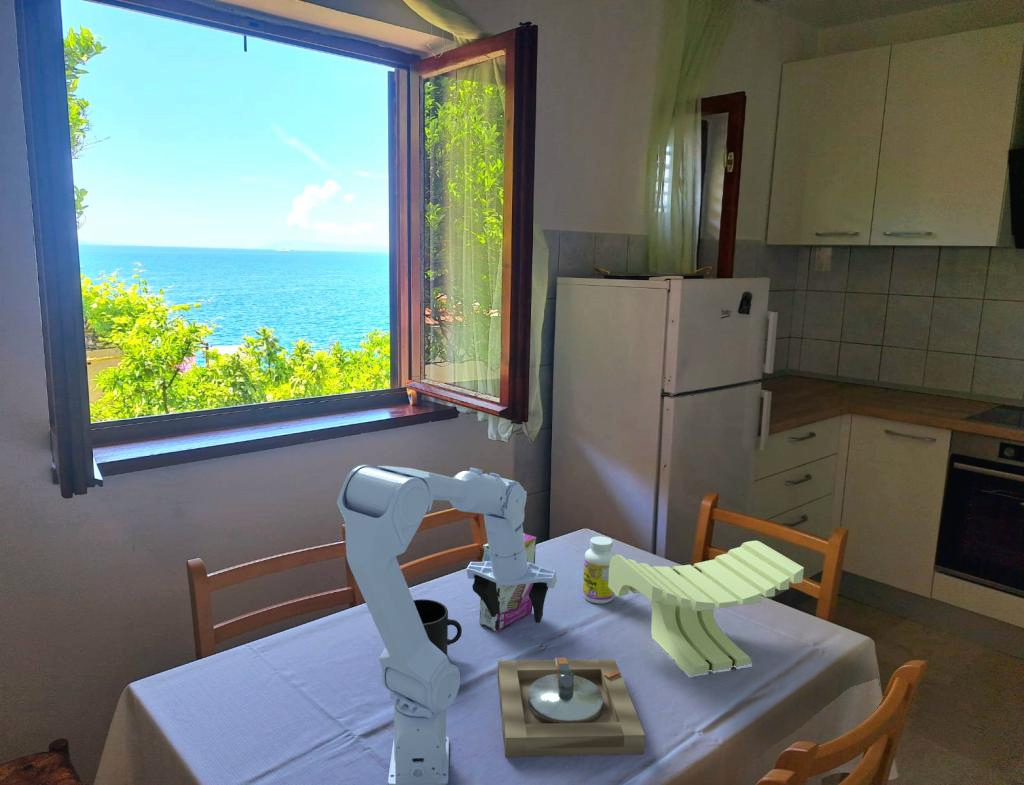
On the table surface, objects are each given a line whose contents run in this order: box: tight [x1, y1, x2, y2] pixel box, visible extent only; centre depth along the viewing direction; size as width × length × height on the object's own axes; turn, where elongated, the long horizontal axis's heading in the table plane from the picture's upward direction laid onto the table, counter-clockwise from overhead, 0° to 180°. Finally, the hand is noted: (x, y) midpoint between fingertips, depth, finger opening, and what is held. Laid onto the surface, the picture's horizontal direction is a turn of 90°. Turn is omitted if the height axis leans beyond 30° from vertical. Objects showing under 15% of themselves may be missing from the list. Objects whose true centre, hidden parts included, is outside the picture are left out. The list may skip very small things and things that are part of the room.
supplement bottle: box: [582, 536, 617, 605], centre depth 149 cm, size 7×7×13 cm
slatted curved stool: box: [608, 540, 805, 676], centre depth 130 cm, size 30×16×18 cm, turn 108°
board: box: [496, 657, 646, 758], centre depth 111 cm, size 20×20×4 cm
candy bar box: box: [479, 532, 537, 633], centre depth 139 cm, size 11×5×16 cm, turn 141°
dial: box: [528, 657, 603, 724], centre depth 111 cm, size 12×12×5 cm
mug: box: [413, 598, 463, 657], centre depth 124 cm, size 9×12×9 cm
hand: (516, 615), depth 117 cm, fingers open, 7 cm apart
